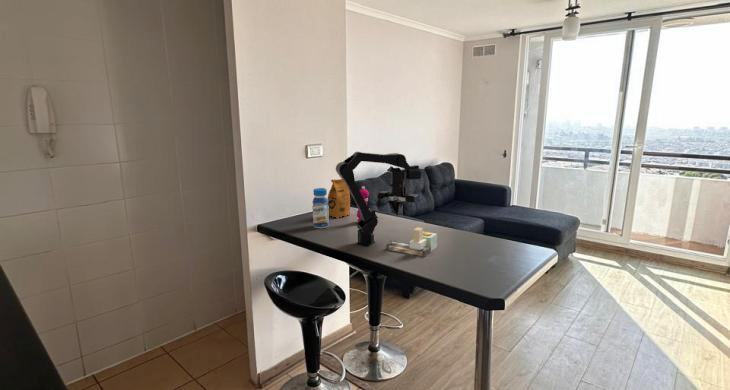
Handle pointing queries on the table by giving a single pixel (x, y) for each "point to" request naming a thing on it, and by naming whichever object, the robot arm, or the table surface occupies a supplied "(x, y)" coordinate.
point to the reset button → (426, 234)
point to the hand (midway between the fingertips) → (397, 214)
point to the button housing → (431, 241)
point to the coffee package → (339, 199)
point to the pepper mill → (365, 195)
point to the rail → (407, 249)
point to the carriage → (418, 239)
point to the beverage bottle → (320, 208)
